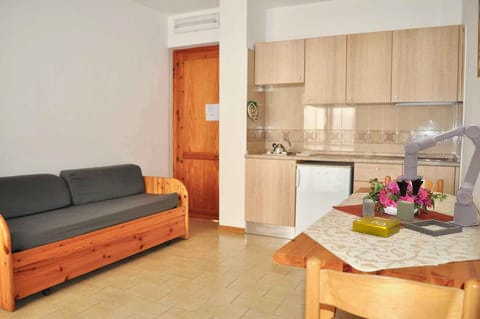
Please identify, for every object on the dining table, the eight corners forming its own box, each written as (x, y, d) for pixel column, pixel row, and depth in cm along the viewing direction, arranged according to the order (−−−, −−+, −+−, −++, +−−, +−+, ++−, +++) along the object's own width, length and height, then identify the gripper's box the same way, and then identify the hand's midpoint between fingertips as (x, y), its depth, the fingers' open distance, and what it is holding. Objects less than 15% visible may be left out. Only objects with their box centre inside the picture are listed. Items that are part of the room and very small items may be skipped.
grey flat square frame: (432, 223, 172) (432, 219, 172) (462, 231, 160) (462, 226, 159) (404, 227, 165) (405, 223, 165) (433, 236, 152) (433, 231, 152)
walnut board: (404, 216, 184) (404, 214, 184) (426, 222, 173) (426, 220, 173) (382, 219, 178) (382, 217, 178) (403, 226, 167) (403, 223, 167)
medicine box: (374, 221, 175) (374, 202, 175) (363, 220, 176) (364, 202, 175) (371, 217, 183) (372, 199, 182) (362, 216, 184) (362, 198, 183)
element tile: (401, 231, 161) (401, 220, 160) (386, 239, 150) (386, 227, 149) (366, 224, 171) (367, 214, 170) (350, 231, 160) (350, 220, 160)
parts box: (402, 217, 179) (403, 200, 178) (413, 220, 173) (414, 202, 173) (396, 218, 177) (397, 201, 176) (407, 221, 172) (407, 203, 171)
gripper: (414, 165, 187) (413, 193, 188) (392, 166, 181) (391, 195, 182) (427, 167, 180) (425, 196, 182) (404, 168, 174) (403, 198, 176)
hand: (409, 196), depth 181 cm, fingers open, 7 cm apart
